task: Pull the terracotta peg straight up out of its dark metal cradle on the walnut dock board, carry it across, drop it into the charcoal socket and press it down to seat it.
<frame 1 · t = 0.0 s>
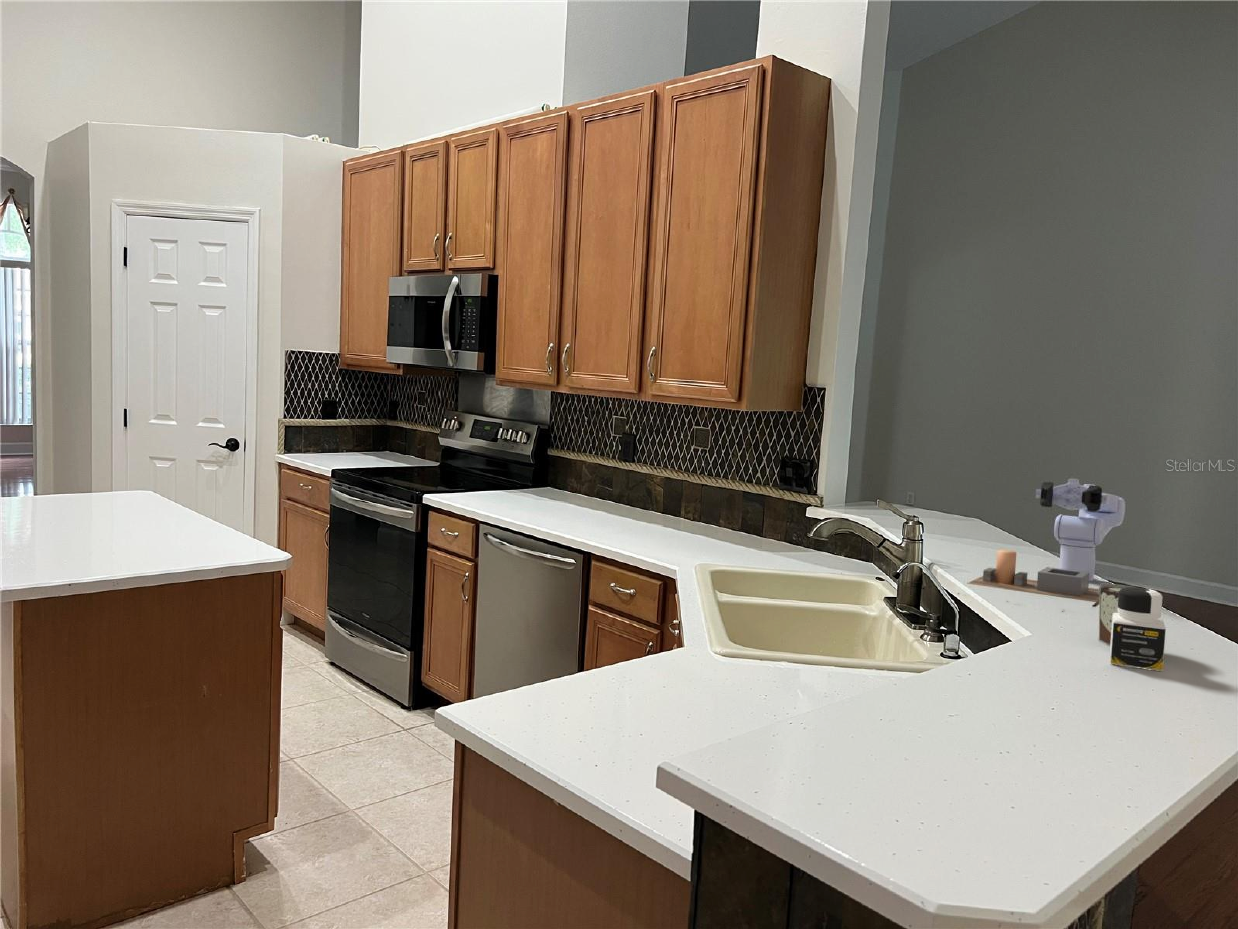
hand: (1064, 495, 197), 22 cm above the worktop, tool horizontal, fingers open, 7 cm apart
peg: (1004, 582, 205), point 1 cm above the worktop, touching dock board
medicine bottle: (1135, 664, 145), on the worktop
socket: (1062, 594, 198), resting on dock board
food container: (1130, 649, 154), on the worktop
dock board: (1037, 591, 201), on the worktop
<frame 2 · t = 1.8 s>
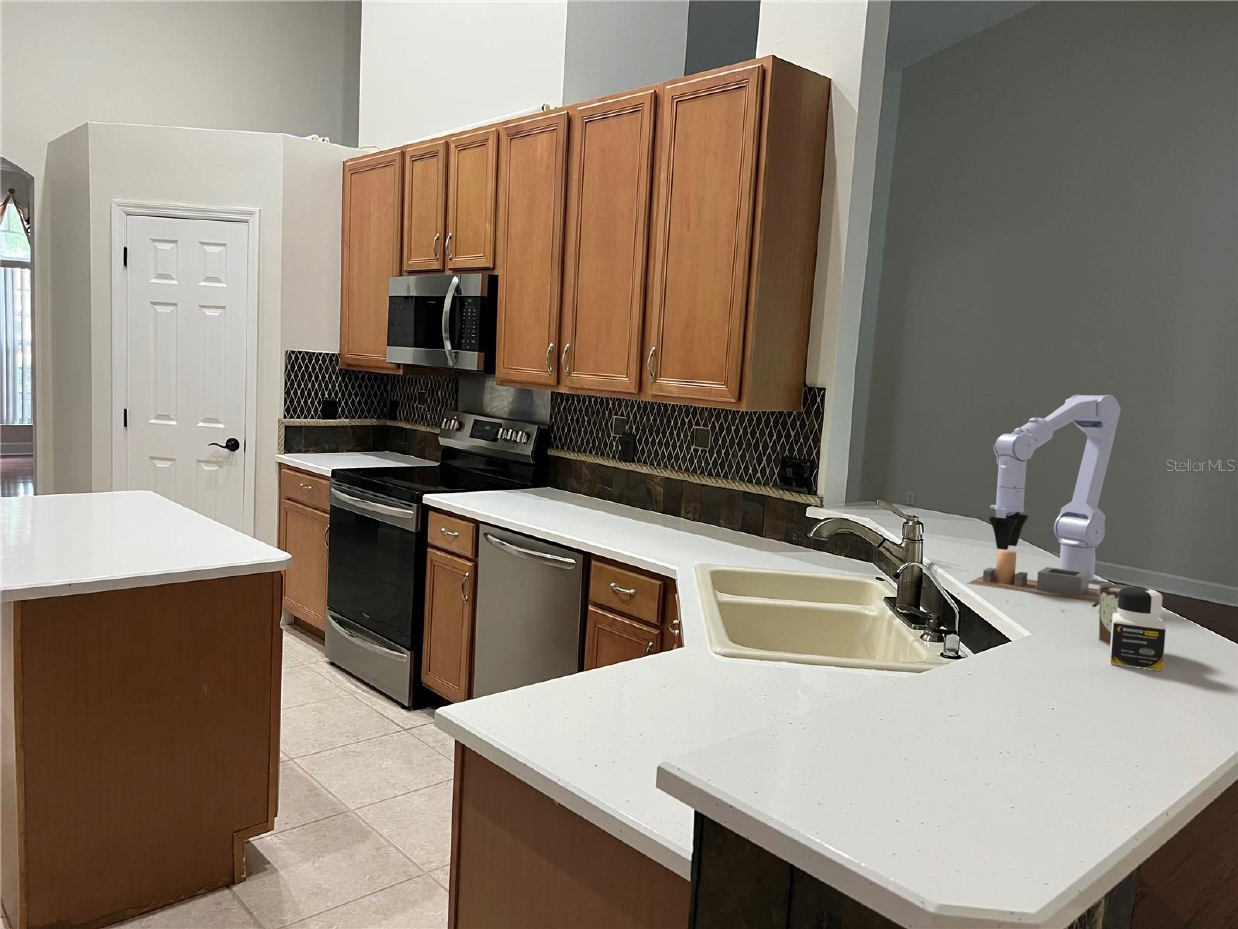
hand: (1006, 547, 205), 9 cm above the worktop, tool pointing down, fingers open, 7 cm apart
nothing on the worktop moved.
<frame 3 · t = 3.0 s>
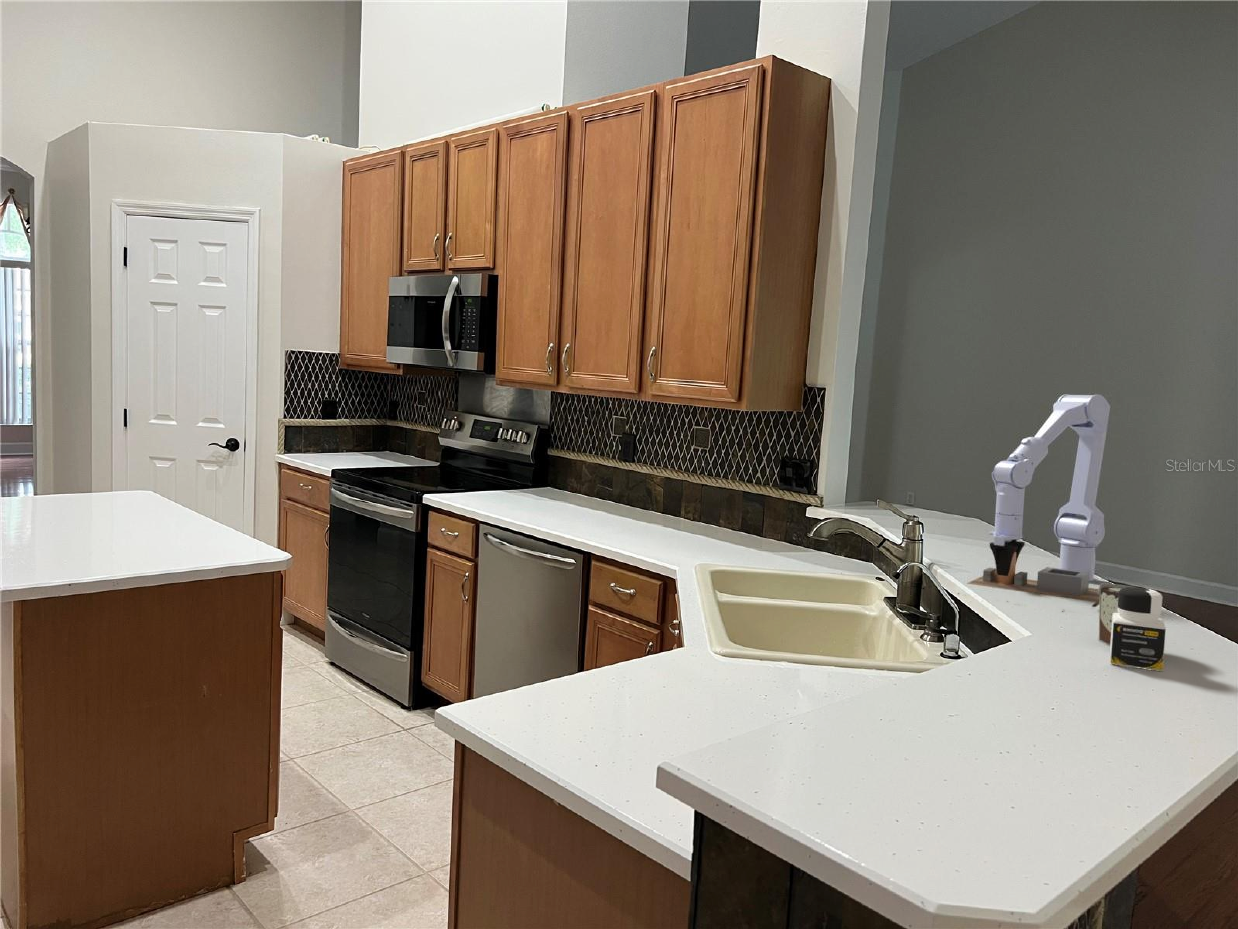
hand: (1005, 574, 205), 3 cm above the worktop, tool pointing down, fingers closed on peg, 4 cm apart
peg: (1004, 582, 205), point 1 cm above the worktop, touching dock board, gripper
everything else where it was.
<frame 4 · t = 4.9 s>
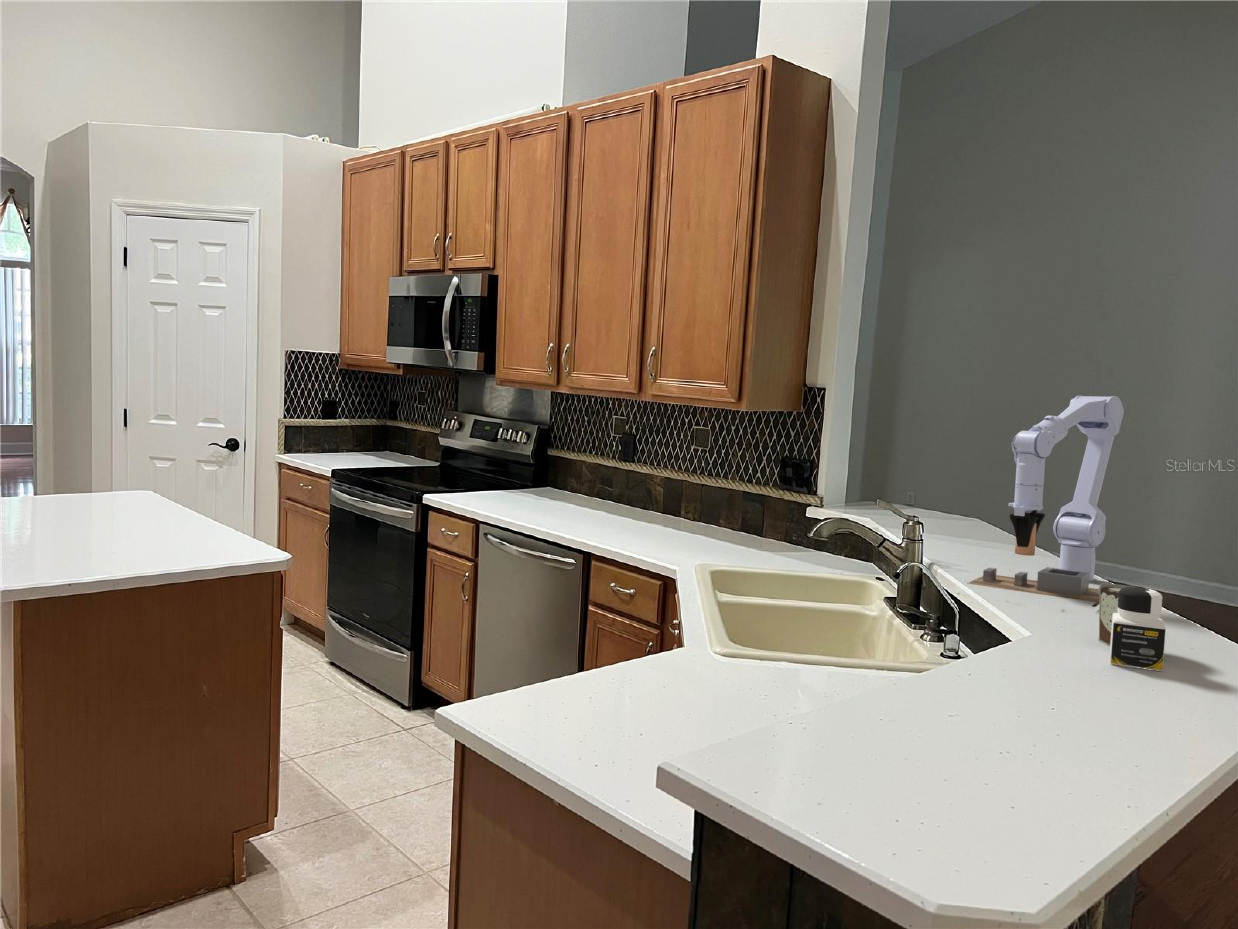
hand: (1025, 545, 202), 10 cm above the worktop, tool pointing down, fingers closed on peg, 4 cm apart
peg: (1024, 554, 202), point 8 cm above the worktop, touching gripper
everything else where it was.
when the fingers open (6 cm above the worktop, at t = 6.7 s): peg drops 3 cm, resting on dock board.
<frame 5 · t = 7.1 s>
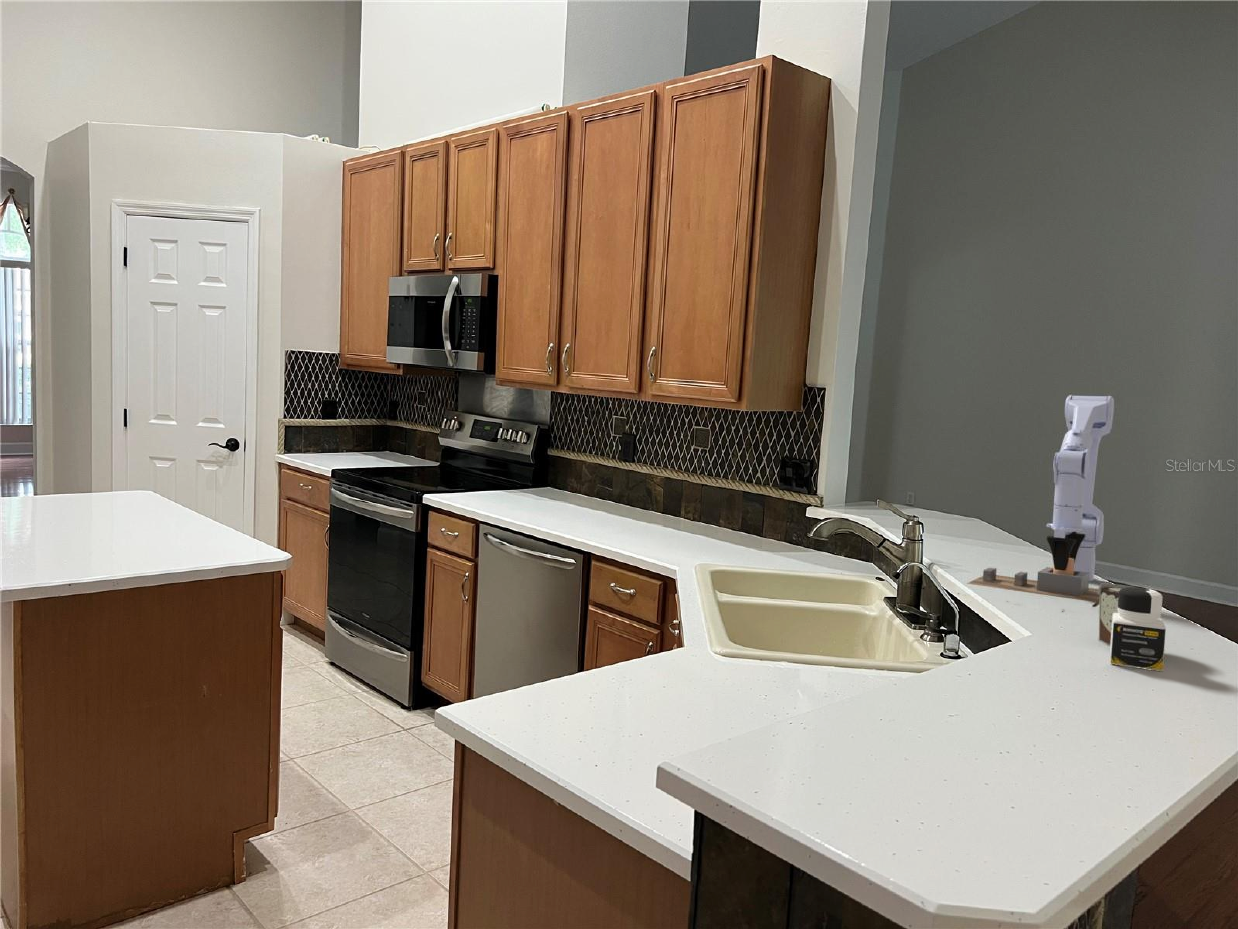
hand: (1064, 567, 198), 6 cm above the worktop, tool pointing down, fingers open, 7 cm apart
peg: (1062, 590, 198), point 1 cm above the worktop, touching dock board
everything else where it was.
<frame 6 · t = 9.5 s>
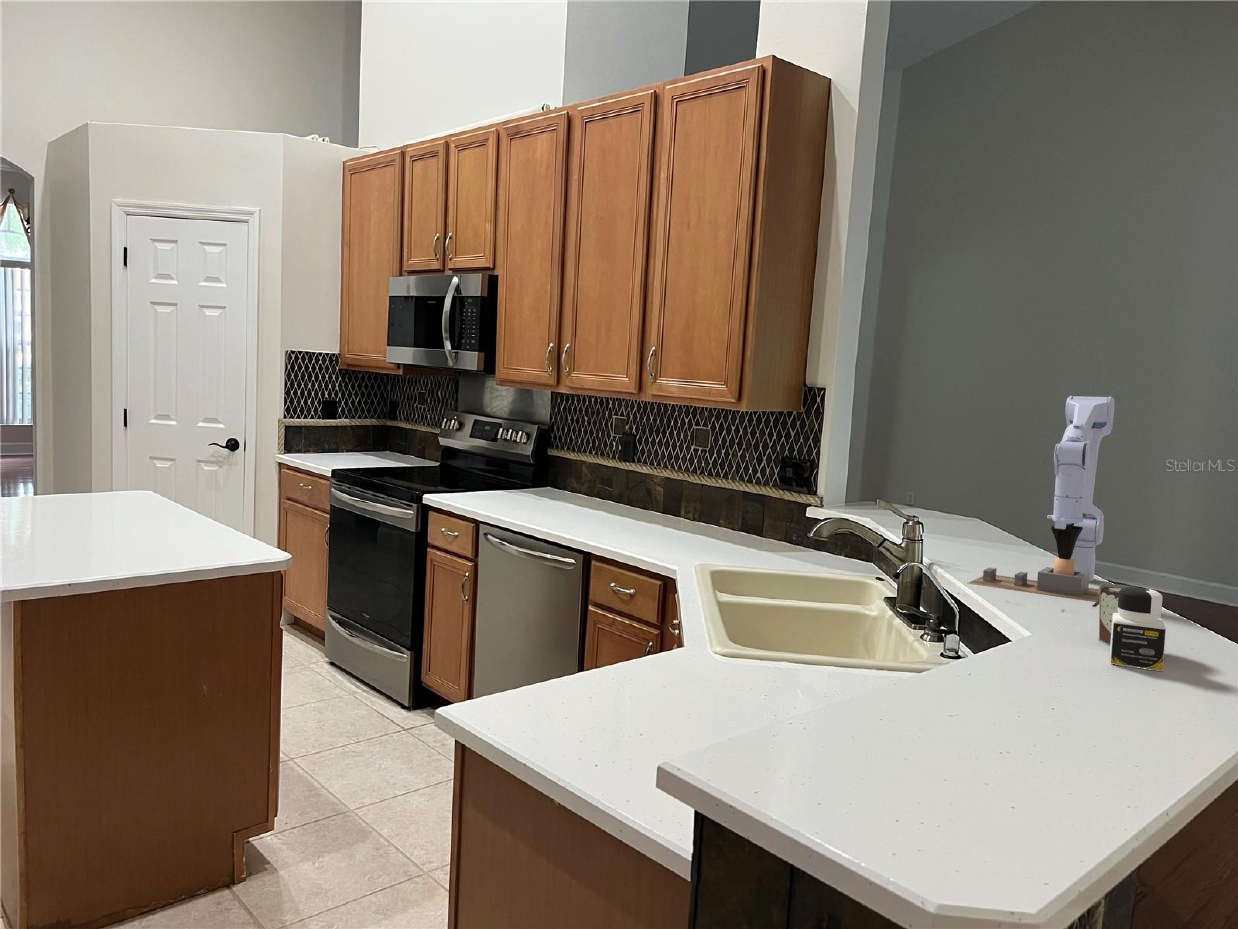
hand: (1064, 559, 197), 8 cm above the worktop, tool pointing down, fingers closed, pressing on peg
peg: (1062, 590, 198), point 1 cm above the worktop, touching dock board, gripper
everything else where it was.
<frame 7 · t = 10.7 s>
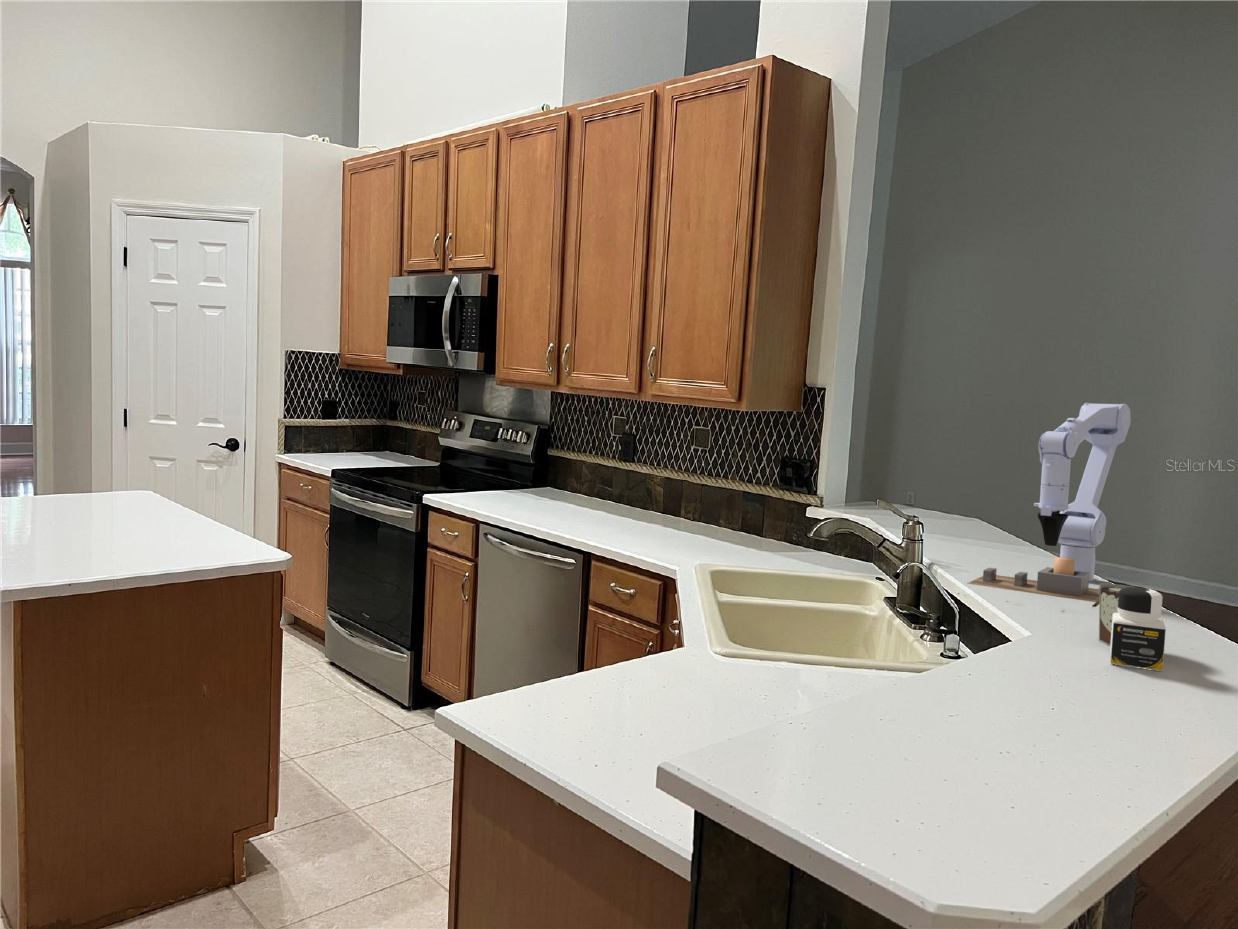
hand: (1050, 545, 204), 10 cm above the worktop, tool pointing down, fingers closed
peg: (1062, 590, 198), point 1 cm above the worktop, touching dock board
everything else where it was.
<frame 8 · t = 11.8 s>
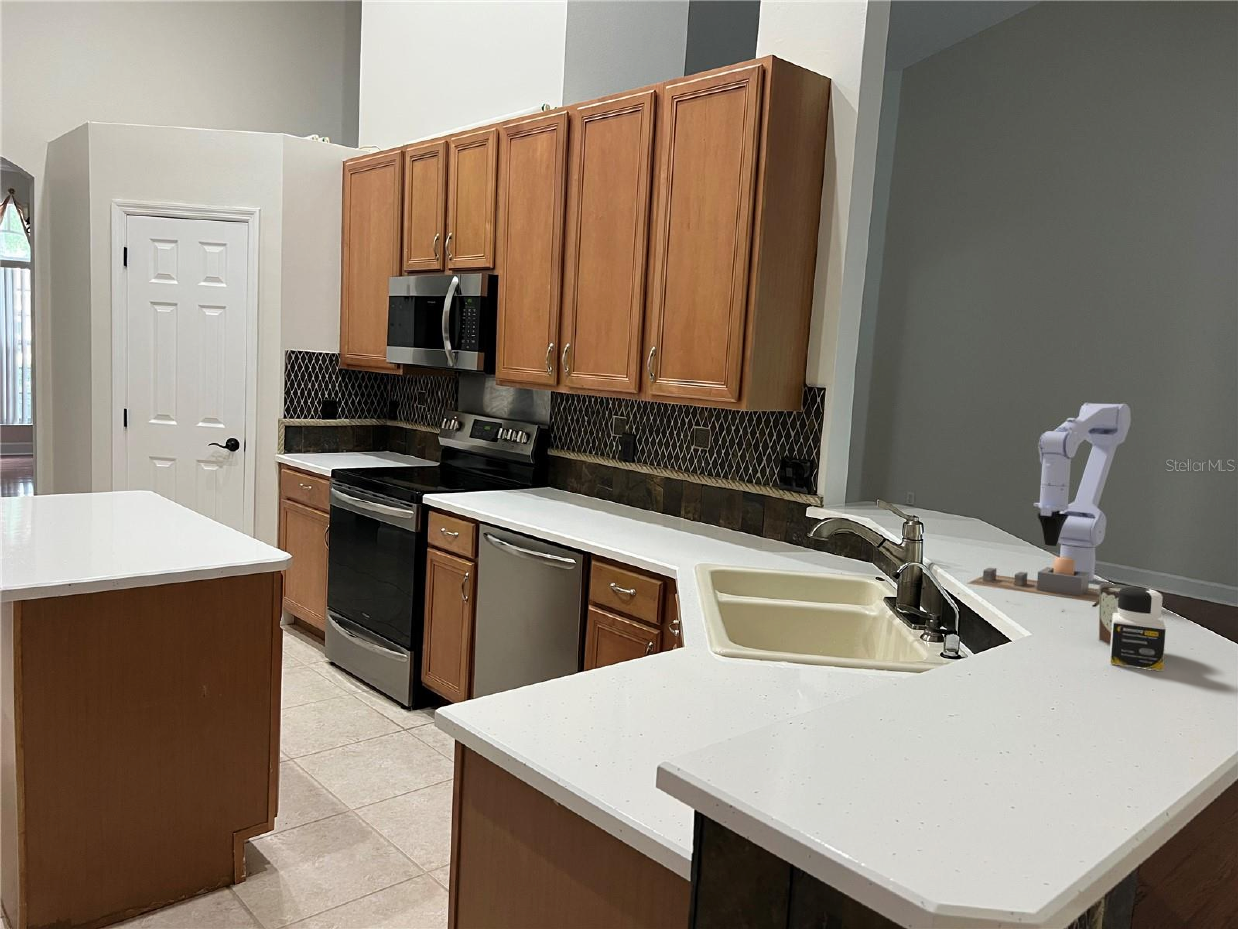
hand: (1050, 545, 204), 10 cm above the worktop, tool pointing down, fingers closed
nothing on the worktop moved.
at the end: peg 0.0 cm off-centre on the socket, point 1.0 cm above the socket's base; peg tilted 0°; the gripper is holding nothing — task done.
